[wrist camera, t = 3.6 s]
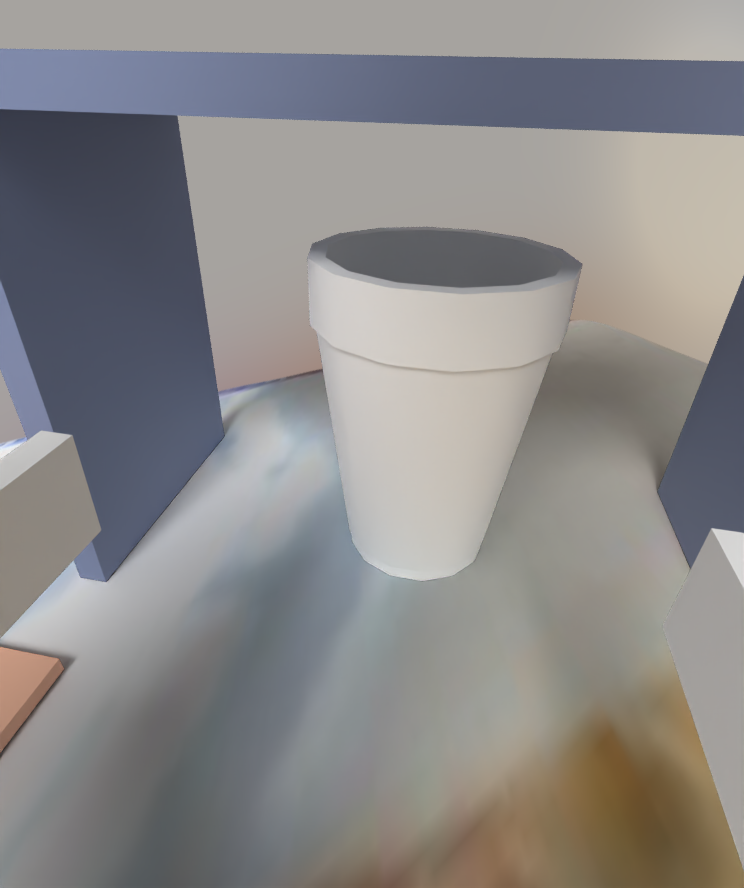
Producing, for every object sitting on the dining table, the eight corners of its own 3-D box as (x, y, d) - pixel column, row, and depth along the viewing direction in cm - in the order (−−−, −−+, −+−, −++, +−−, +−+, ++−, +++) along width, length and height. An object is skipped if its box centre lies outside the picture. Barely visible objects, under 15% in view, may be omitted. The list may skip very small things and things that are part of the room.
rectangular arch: (681, 494, 29) (855, 89, 19) (781, 700, 19) (1262, 70, 9) (205, 433, 33) (145, 72, 23) (80, 577, 23) (-125, 46, 13)
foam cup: (370, 457, 31) (377, 218, 24) (530, 503, 28) (593, 243, 21) (280, 564, 24) (252, 266, 17) (484, 642, 20) (557, 314, 13)
